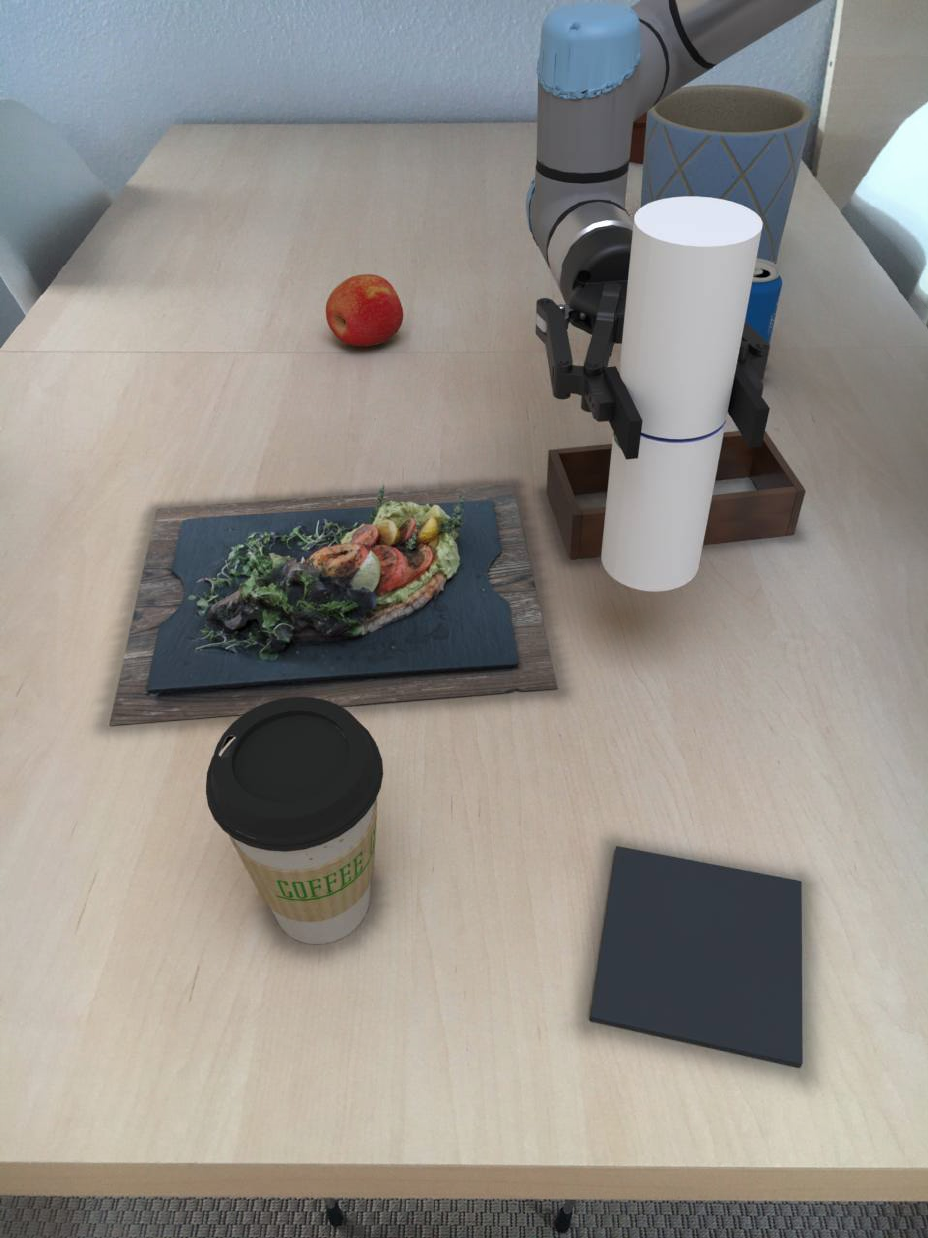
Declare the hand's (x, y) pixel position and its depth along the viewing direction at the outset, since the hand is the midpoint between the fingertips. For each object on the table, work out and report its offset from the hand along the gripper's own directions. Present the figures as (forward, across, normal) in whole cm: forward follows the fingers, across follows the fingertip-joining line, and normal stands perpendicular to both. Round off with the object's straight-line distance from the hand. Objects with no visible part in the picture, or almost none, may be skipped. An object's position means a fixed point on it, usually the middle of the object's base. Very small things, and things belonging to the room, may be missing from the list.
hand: (697, 433), depth 60 cm
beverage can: (-47, -23, -24) cm, 57 cm away
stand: (-22, -8, -24) cm, 34 cm away
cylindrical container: (-5, 0, -14) cm, 15 cm away
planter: (-73, -27, -24) cm, 81 cm away
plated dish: (-17, +24, -24) cm, 38 cm away
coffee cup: (+14, +26, -24) cm, 38 cm away
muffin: (-118, -31, -24) cm, 124 cm away
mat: (+21, +3, -24) cm, 32 cm away
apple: (-61, +18, -24) cm, 68 cm away
